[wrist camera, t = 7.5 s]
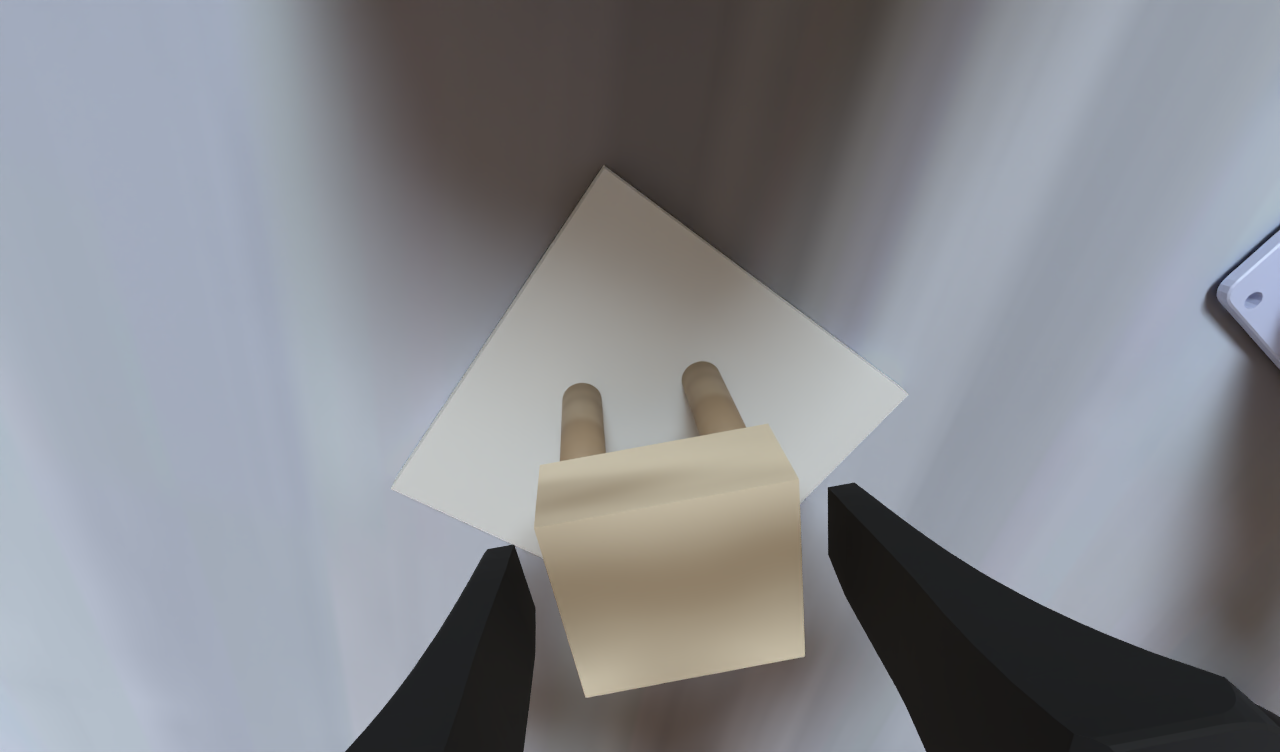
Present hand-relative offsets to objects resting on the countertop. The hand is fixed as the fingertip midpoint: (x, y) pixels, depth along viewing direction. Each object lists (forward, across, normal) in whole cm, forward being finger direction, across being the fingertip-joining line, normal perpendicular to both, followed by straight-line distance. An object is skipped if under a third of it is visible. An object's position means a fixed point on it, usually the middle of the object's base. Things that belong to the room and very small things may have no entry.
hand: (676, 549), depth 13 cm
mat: (+5, 0, 0) cm, 5 cm away
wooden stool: (+4, 0, 0) cm, 5 cm away
